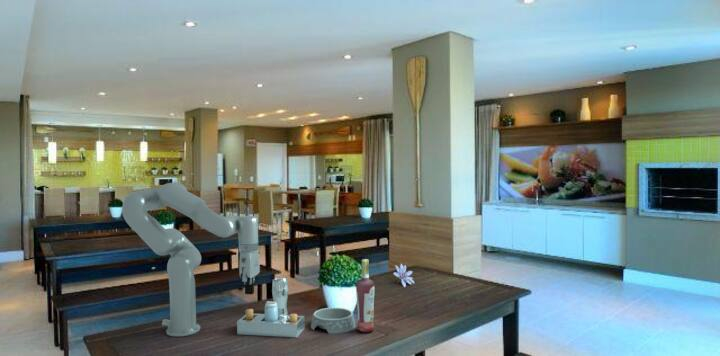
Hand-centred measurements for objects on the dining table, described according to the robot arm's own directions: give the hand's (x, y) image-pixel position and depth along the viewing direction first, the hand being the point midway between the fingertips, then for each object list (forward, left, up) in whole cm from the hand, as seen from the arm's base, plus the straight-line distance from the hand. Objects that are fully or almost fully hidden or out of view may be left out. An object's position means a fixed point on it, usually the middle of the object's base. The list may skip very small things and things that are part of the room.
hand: (249, 293), depth 187 cm
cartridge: (+9, 0, -15) cm, 17 cm away
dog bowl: (+31, +10, -15) cm, 36 cm away
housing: (+9, 0, -15) cm, 17 cm away
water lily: (+56, +77, -15) cm, 96 cm away
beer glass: (+5, +21, -15) cm, 26 cm away
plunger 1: (0, 0, -11) cm, 11 cm away
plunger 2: (+18, 0, -13) cm, 22 cm away
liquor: (+45, +6, -15) cm, 48 cm away
